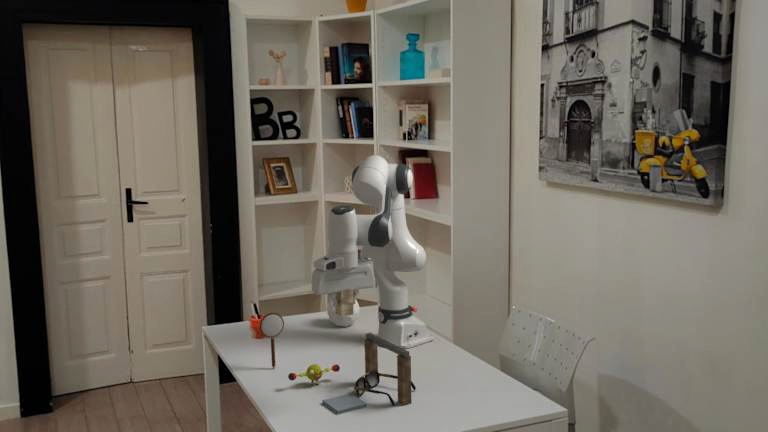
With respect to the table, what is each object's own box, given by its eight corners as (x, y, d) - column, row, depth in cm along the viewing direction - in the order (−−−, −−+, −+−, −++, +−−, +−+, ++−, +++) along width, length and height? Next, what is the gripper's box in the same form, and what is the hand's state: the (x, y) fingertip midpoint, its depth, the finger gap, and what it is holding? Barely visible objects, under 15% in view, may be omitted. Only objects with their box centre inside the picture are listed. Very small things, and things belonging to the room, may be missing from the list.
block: (347, 311, 231) (346, 286, 230) (353, 314, 228) (353, 288, 227) (335, 313, 229) (335, 287, 228) (341, 316, 226) (341, 290, 225)
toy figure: (292, 393, 240) (291, 372, 239) (286, 387, 245) (285, 367, 244) (343, 382, 248) (343, 362, 247) (336, 377, 253) (336, 357, 252)
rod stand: (373, 381, 249) (372, 337, 247) (411, 403, 230) (410, 356, 228) (365, 382, 247) (364, 339, 245) (403, 405, 229) (402, 358, 226)
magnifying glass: (262, 371, 260) (260, 315, 257) (261, 370, 261) (258, 314, 258) (286, 367, 264) (284, 311, 261) (284, 365, 265) (282, 310, 262)
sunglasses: (394, 406, 228) (393, 390, 227) (351, 396, 235) (351, 381, 235) (415, 390, 240) (415, 375, 239) (375, 382, 247) (374, 367, 247)
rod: (370, 337, 247) (370, 332, 246) (409, 356, 227) (409, 351, 227) (366, 338, 246) (365, 333, 246) (404, 357, 226) (404, 352, 226)
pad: (350, 396, 237) (350, 393, 236) (367, 406, 228) (367, 403, 228) (322, 403, 231) (322, 400, 231) (338, 414, 223) (337, 411, 223)
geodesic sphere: (342, 320, 299) (353, 289, 304) (314, 315, 306) (326, 285, 312) (359, 334, 310) (369, 303, 315) (332, 329, 317) (343, 299, 322)
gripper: (367, 255, 235) (368, 298, 236) (308, 262, 224) (309, 307, 226) (378, 258, 229) (378, 302, 231) (318, 265, 219) (319, 312, 220)
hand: (344, 305), depth 228 cm, fingers closed on block, 4 cm apart
